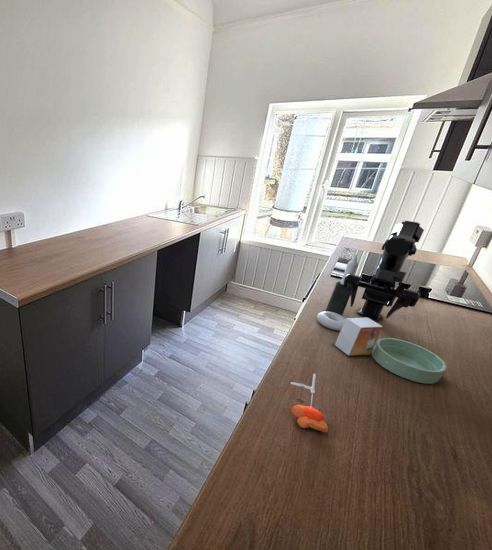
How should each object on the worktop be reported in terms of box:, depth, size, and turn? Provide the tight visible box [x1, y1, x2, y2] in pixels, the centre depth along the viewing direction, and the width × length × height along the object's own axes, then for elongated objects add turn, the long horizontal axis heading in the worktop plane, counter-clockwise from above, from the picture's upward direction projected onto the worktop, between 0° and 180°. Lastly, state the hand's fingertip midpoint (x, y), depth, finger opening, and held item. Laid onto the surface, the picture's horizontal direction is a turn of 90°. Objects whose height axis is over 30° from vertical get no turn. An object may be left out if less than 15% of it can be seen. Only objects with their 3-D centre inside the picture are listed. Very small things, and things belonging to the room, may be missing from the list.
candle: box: [325, 253, 359, 316], centre depth 109 cm, size 5×5×25 cm
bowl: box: [371, 337, 447, 385], centre depth 87 cm, size 15×15×4 cm
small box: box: [334, 316, 384, 357], centre depth 92 cm, size 8×6×10 cm
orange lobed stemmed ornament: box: [290, 373, 329, 433], centre depth 66 cm, size 6×10×12 cm, turn 39°
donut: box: [316, 310, 347, 332], centre depth 107 cm, size 10×4×10 cm
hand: (368, 311), depth 94 cm, fingers open, 9 cm apart
